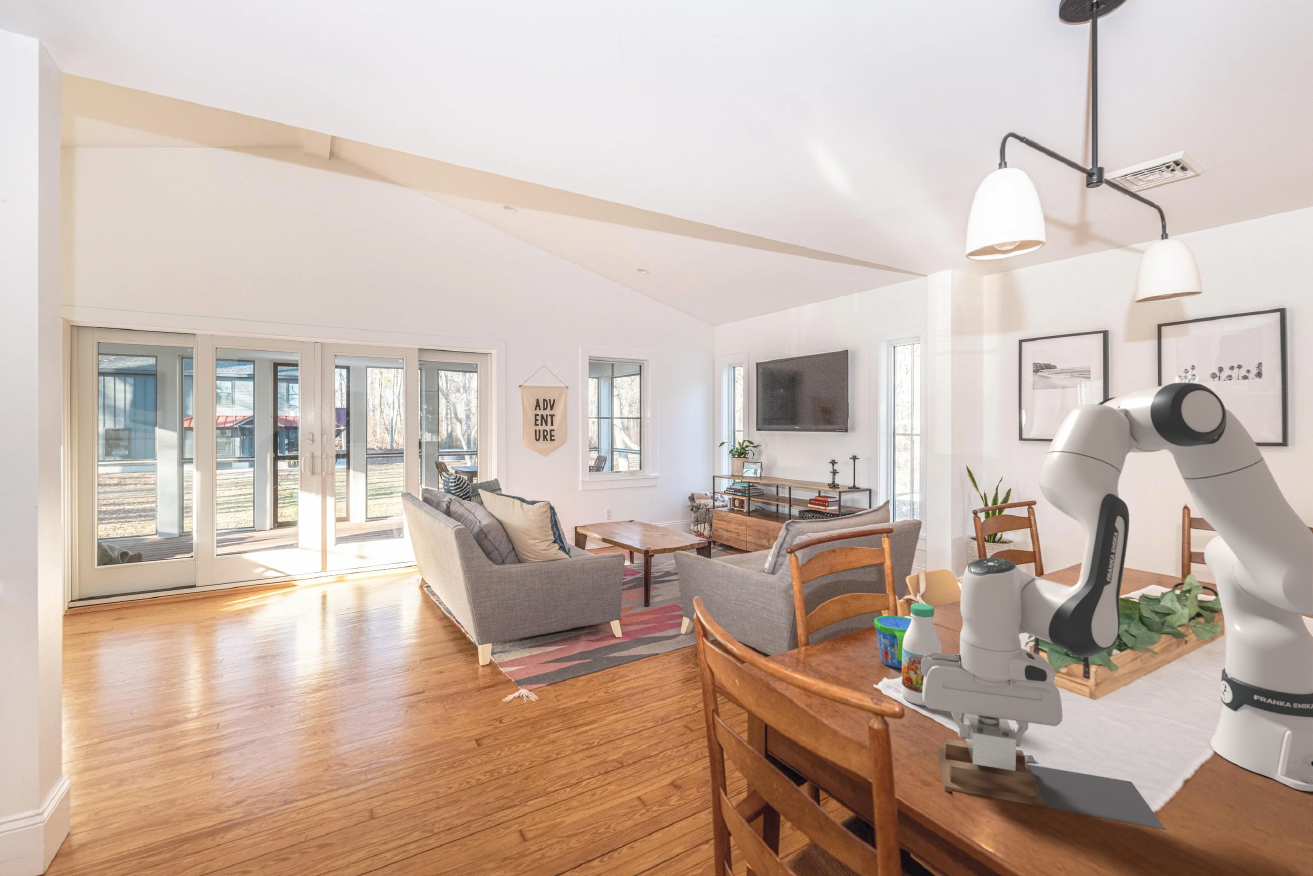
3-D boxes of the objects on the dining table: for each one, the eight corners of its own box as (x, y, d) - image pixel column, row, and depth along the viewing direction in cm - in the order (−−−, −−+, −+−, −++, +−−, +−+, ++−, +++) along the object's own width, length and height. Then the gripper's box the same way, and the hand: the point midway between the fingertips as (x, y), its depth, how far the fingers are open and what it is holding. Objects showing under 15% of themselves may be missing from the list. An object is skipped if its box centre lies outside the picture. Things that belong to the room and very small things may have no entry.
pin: (1029, 757, 105) (1032, 754, 105) (1032, 765, 104) (1035, 762, 104) (1005, 755, 106) (1007, 752, 105) (1008, 764, 105) (1010, 760, 104)
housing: (1015, 771, 94) (1016, 733, 94) (972, 763, 96) (973, 727, 96) (1002, 738, 104) (1002, 704, 103) (963, 732, 106) (963, 699, 105)
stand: (1026, 766, 103) (1026, 747, 103) (1045, 809, 92) (1046, 788, 92) (936, 751, 108) (937, 733, 108) (944, 791, 97) (945, 770, 97)
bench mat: (1131, 784, 98) (1131, 781, 98) (1165, 832, 87) (1165, 829, 87) (1019, 765, 104) (1019, 763, 104) (1038, 808, 92) (1038, 805, 92)
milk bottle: (896, 690, 132) (897, 600, 131) (931, 690, 132) (933, 600, 131) (909, 707, 124) (911, 611, 124) (947, 707, 124) (949, 612, 123)
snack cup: (873, 648, 156) (873, 609, 155) (917, 653, 152) (918, 614, 152) (874, 673, 141) (875, 630, 140) (923, 679, 137) (924, 635, 137)
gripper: (922, 657, 100) (921, 739, 100) (1066, 674, 93) (1065, 762, 93) (919, 644, 106) (918, 721, 106) (1054, 658, 99) (1053, 741, 99)
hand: (988, 740), depth 100 cm, fingers closed on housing, 6 cm apart
